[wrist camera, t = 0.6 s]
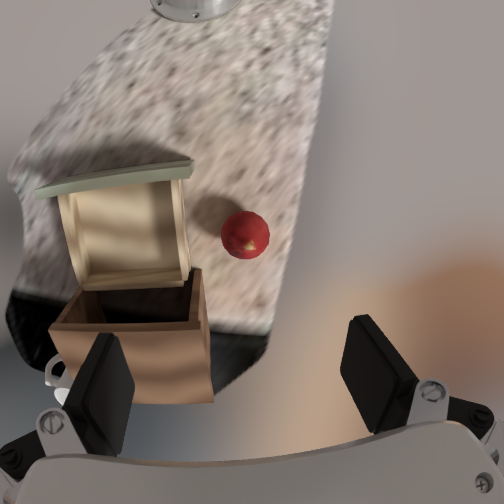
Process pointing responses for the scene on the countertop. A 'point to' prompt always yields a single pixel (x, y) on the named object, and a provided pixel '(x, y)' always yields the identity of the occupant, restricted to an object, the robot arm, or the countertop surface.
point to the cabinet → (144, 348)
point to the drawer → (126, 225)
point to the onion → (245, 235)
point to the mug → (62, 384)
